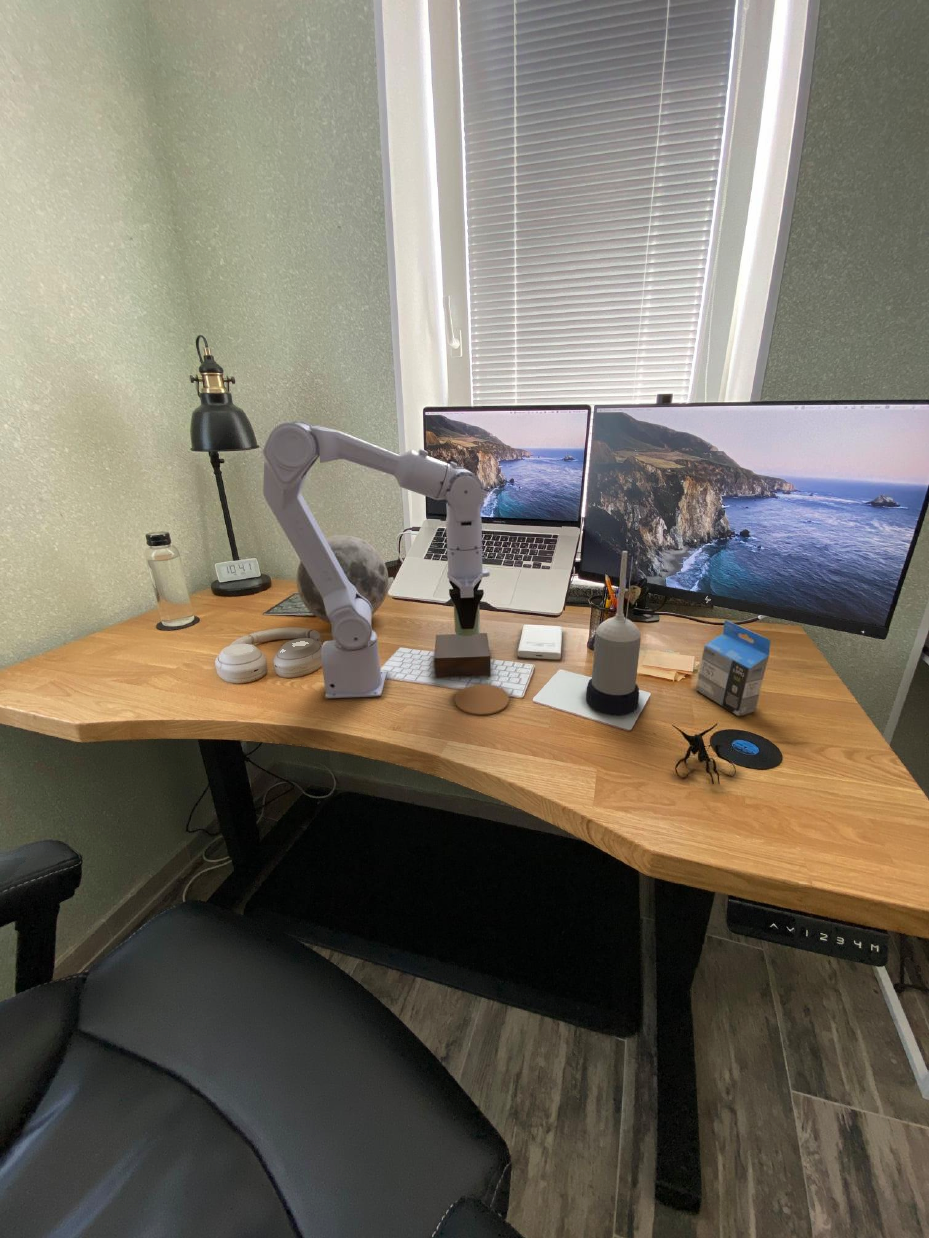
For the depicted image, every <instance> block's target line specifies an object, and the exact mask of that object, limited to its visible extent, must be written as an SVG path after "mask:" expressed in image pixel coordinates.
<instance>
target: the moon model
mask: <svg viewBox="0 0 929 1238" xmlns="http://www.w3.org/2000/svg"><path fill="white" fill-rule="evenodd" d="M325 538H326V540H327V542H328V544H329V546H330V548H331V549H332V551H333V553H334V555H335V557H336V559H337V560H338V562H339V564H340V566H341V568H342V570H343V571H344V573H345V575H346V577H347V579H348V581H349V582H350V583H351V584H353V585H354V586H355V588H356V590H357V591H358V593H359V594H360V595H361V596H362V597H364V598H365V599H367V600H368V601H369V602H370V604H371V606H372V609H373V615H374V614H376V612H377V611H378V610H379V609H380V607H381V606H382V605H383V603H384V601H385V599H386V597H387V594H388V590H389V573H388V569H387V565H386V563H385V561H384V558H383V557H382V555H381V554H380V553H379V552H378V550H377V549H376V548H375V547H374V546H372V545H371V544H370V543H368V542H367V541H365V540H363V539H362V538H359V537H356V536H352V535H345V534H337V535H331V536H327V537H325ZM295 581H296V589H297V593H298V596H299V598H300V601H302V603H303V605H304V606H305V608H306V609H307V610H308V611H309V612H310V613H311V614H312V615H314V616H315V617H316V618H318V619H319V620H322V621H323V622H326V623H328V624H331V622H330V620H329V618H328V616H327V614H326V610H325V605H324V601H323V598H322V596H321V595H320V593H319V591H318V589H317V588H316V586H315V584H314V582H313V581H312V579H311V577H310V576H309V574H308V572H307V570H306V569H305V567H304V565H303V563H302V562H301V560H300V561H299V564H298V567H297V570H296V579H295Z"/></svg>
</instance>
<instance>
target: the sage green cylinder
mask: <svg viewBox="0 0 929 1238" xmlns="http://www.w3.org/2000/svg"><path fill="white" fill-rule="evenodd" d="M480 613H481V612H480V605H479V606H478V609H477V614H476V620H475V625H474V629H461V626H460V623H459V618H458V614H457V610H456V607H455V605H454V604H453V619H454V621H453V622H454V634H458V635H461V636H472V635H475V634H478V633H481V620H480V619H481V618H480V617H481V616H480Z"/></svg>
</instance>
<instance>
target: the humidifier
mask: <svg viewBox="0 0 929 1238" xmlns="http://www.w3.org/2000/svg"><path fill="white" fill-rule="evenodd" d="M621 552H622V553H621V562H620V571H619V588H618V592H617V599H616V613H615V615H614V616H613V617H609V618H607V619H606V620H604V621H602V622H601V623H600V624H599V625H598V626H597V628H596V630H595V635H594V646H593V659H592V671H591V678H590V679H589V680H588V683H587V686H586V691H585V692H586V693H585V701H586V704H587V705H588V706H589V708H591V709H592V710H594V711H595V712H598V713H600V714H603V715H608V716H616V717H617V716H618V717H619V716H627V715H630V714H633V713H634V712H635V711H636V710H637V709H638V705H639V700H640V688H639V685H638V684H637V678H638V666H639V659H640V649H641V641H642V639H641V635H642V633H641V631H640V629H639V627H638V626H637V625H636V624H635V623H634V622H633V621H632V620H630V619H628V618H627V617H628V612H629V603H630V598H631V594H629V596H628V600H627V605H626V616H625V614H624V597H625V593H626V588H627V586H626V585H627V563H628V551H627V550H623V551H621ZM633 560H634V556H632V557H631V562H633ZM632 569H633V563H631V566H630V572H632ZM631 579H632V573H629V580H628V589H629V590H628V591H629V592H631Z"/></svg>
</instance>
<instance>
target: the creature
mask: <svg viewBox="0 0 929 1238" xmlns="http://www.w3.org/2000/svg"><path fill="white" fill-rule="evenodd" d="M717 725H718V722H716V723H715V724H714V725H713V726H711V727H710V728H709V729H706V730H704V731H702V732H700V733H699V734H697V733H695V734H694V735H689V734H687V733H686V732H684V731H683V730H681V729H680V728H678V727H677V726H675V725H674V724H672V725H671V726H672V727H673V728H674V729H676V730H677V731H678V732H679V733H680V734H681V735H682V736H683V738H684V740H685V741H687V742H688V745H689V746H688V748H687V750H686V752H685V756H684V757H683V758H681V759H680V760H678V762H677V763H676V764H675V766H674V770H675V773H676V775H677V776H678V777H679V778H680V779H683V780H685V779H687V778H688V777H689V776H690V774H691V773H692V772H695V771H696V770H694V769H691V768H689V767H688V766H687V760H688V759H689V758H690V757H691V754H692V755H693V756H695V755H696V754H697V760H698V762H699V763H702V764H703V763H704V762H705V773H707V774H709V776H710V777H711V784H712V785H713V786H714V784H715V783H714V777H713V774H712V772H710V763H712V769H711V771H713V772H714V773H715V775H716V776H717V784H718V785H720V773H722V774H724V775H725V776H728V777H730V778H731V777H735V775H736V773H737V769H736V766H735V765H734V763H733V762H731V760H729V759H727V758H726V757H724V756H723V755H722V754H721V753H720V751H719V748H722V745H721V744H719V743H716V744H715V745H714V751H715V752H714V753H715V754H716V756H717V758H719V759H721V760H724V761H726V762H727V763H728V764H730V765H732V767H733V769H734V773H733V774H732V775H728V774H727V773H726V772H724V771H721V770H718V769H717V762H716V760H715V759H714V758H713V757H709V754H708V750H709V749H710V748H711V746H712V744H708V745H705V741H704V738H703V737H704V736H705V735H706V734H708V733H709V732H711V731H712V730H713V729H714V728H716V727H717ZM706 747H708V748H707V749H706ZM711 760H712V761H711ZM682 762H684V765H685V766H686V768H687V769H689V772H688V773H687V774H686V776H684V777H683V776H680V775H679V773H678V770H677V768H678V767H679V765H680V764H681V763H682ZM719 772H720V773H719Z"/></svg>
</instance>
